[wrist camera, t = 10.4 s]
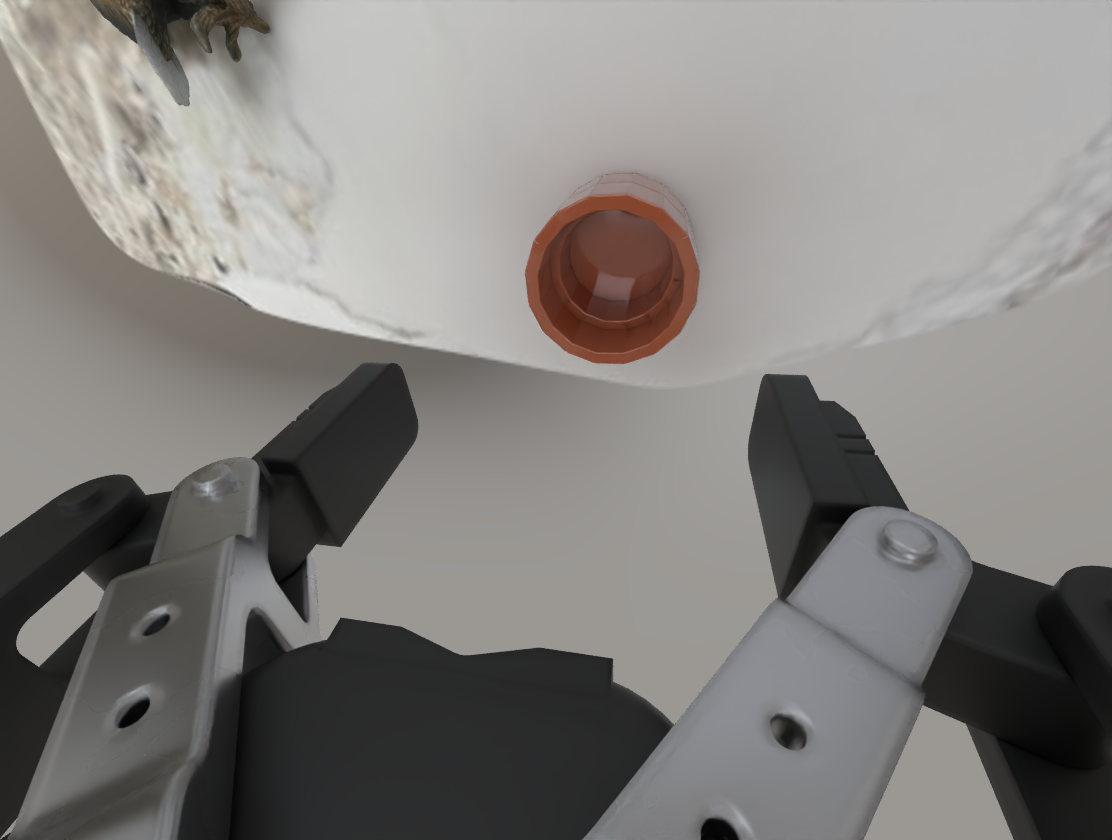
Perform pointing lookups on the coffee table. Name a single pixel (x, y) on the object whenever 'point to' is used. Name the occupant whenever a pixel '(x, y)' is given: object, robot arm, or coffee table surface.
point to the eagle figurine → (151, 3)
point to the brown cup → (614, 270)
